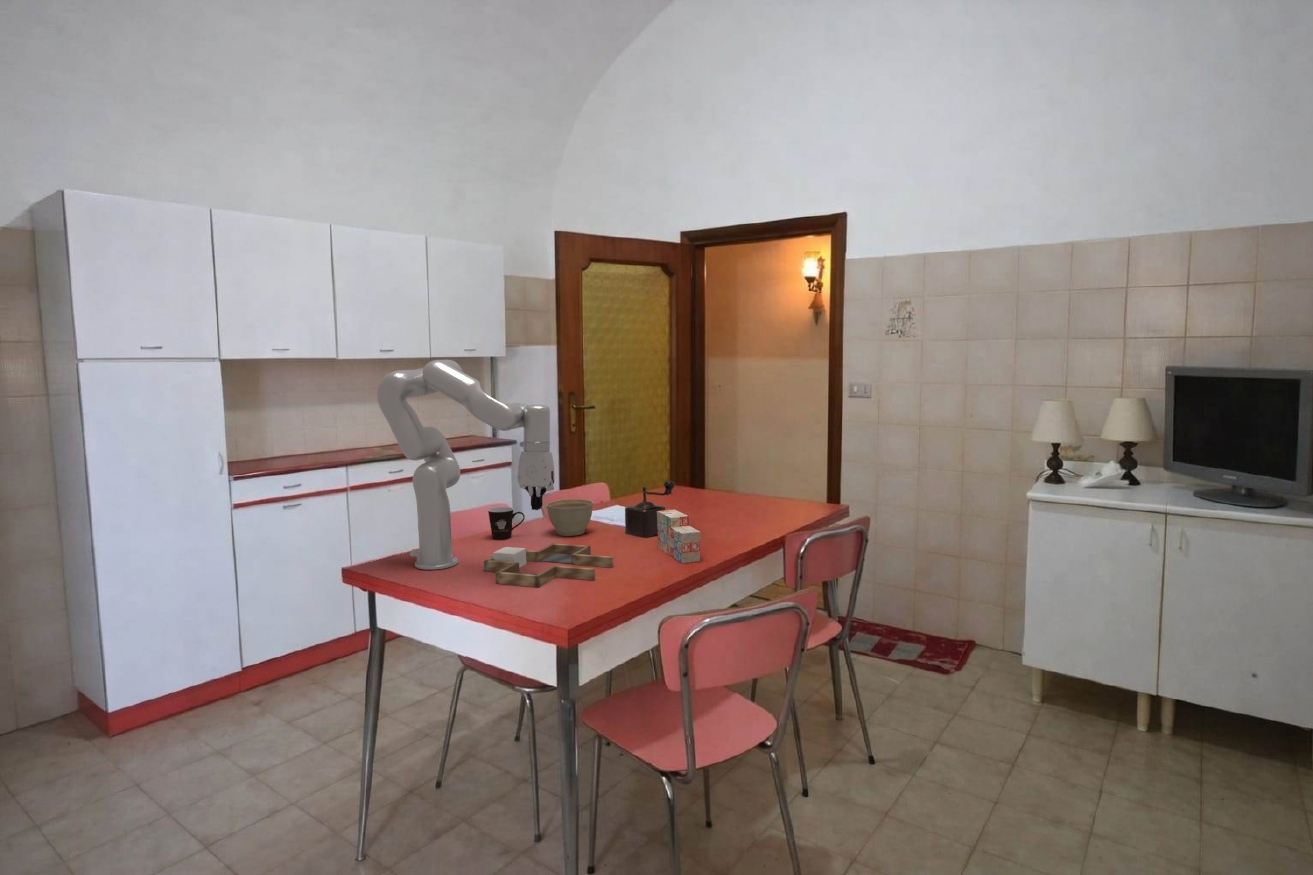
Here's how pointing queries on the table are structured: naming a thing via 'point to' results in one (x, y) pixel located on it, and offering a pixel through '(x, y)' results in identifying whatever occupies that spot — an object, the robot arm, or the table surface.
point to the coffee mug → (502, 522)
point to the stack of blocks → (678, 536)
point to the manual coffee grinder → (645, 515)
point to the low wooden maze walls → (553, 554)
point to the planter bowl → (570, 516)
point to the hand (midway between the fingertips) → (536, 509)
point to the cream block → (511, 555)
